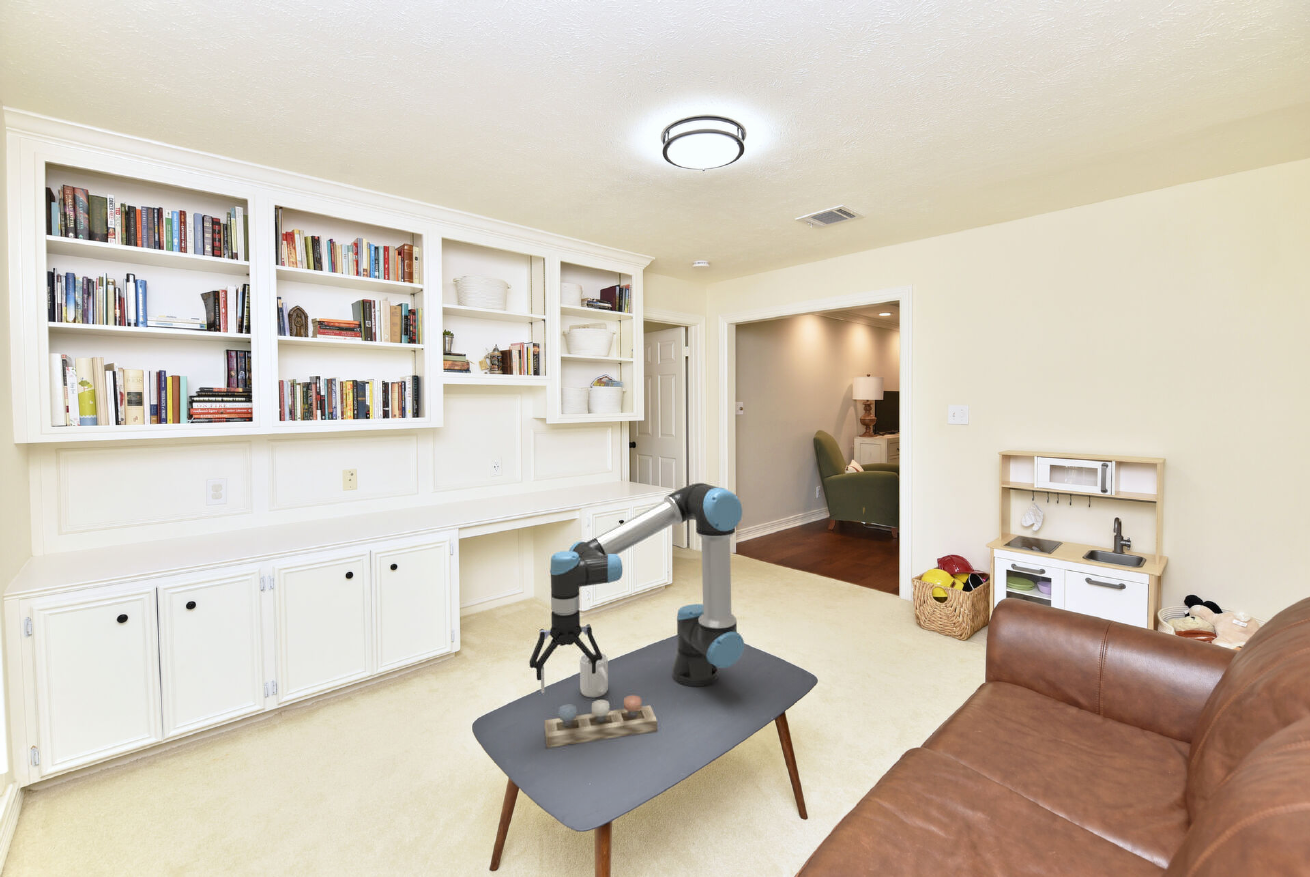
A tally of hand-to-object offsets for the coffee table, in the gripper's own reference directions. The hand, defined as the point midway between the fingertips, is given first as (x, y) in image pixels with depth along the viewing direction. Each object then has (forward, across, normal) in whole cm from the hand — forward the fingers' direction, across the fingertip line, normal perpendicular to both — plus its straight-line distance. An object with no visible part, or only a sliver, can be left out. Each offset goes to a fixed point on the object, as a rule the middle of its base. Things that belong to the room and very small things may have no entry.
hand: (566, 687), depth 157 cm
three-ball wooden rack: (+13, -9, 0) cm, 16 cm away
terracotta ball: (+10, -18, 0) cm, 21 cm away
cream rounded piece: (+10, -9, 0) cm, 14 cm away
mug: (+14, -11, -20) cm, 26 cm away
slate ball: (+10, 0, 0) cm, 10 cm away
